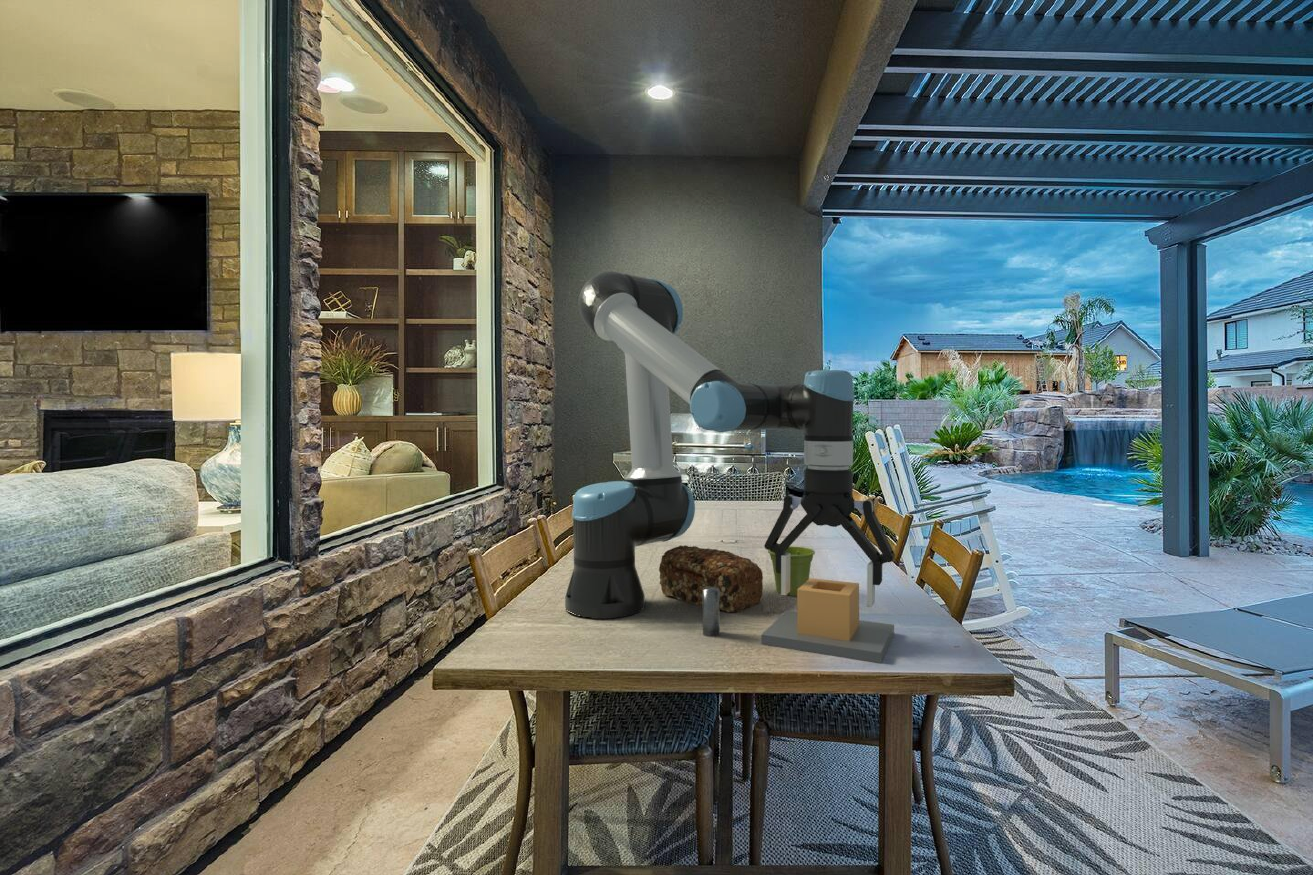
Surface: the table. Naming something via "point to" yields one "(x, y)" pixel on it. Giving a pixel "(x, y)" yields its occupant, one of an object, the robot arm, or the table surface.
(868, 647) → the board
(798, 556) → the plant pot
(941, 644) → the table surface
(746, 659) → the table surface
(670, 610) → the table surface
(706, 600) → the shiny metal cylinder
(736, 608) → the bread
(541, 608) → the table surface
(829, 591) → the collar
